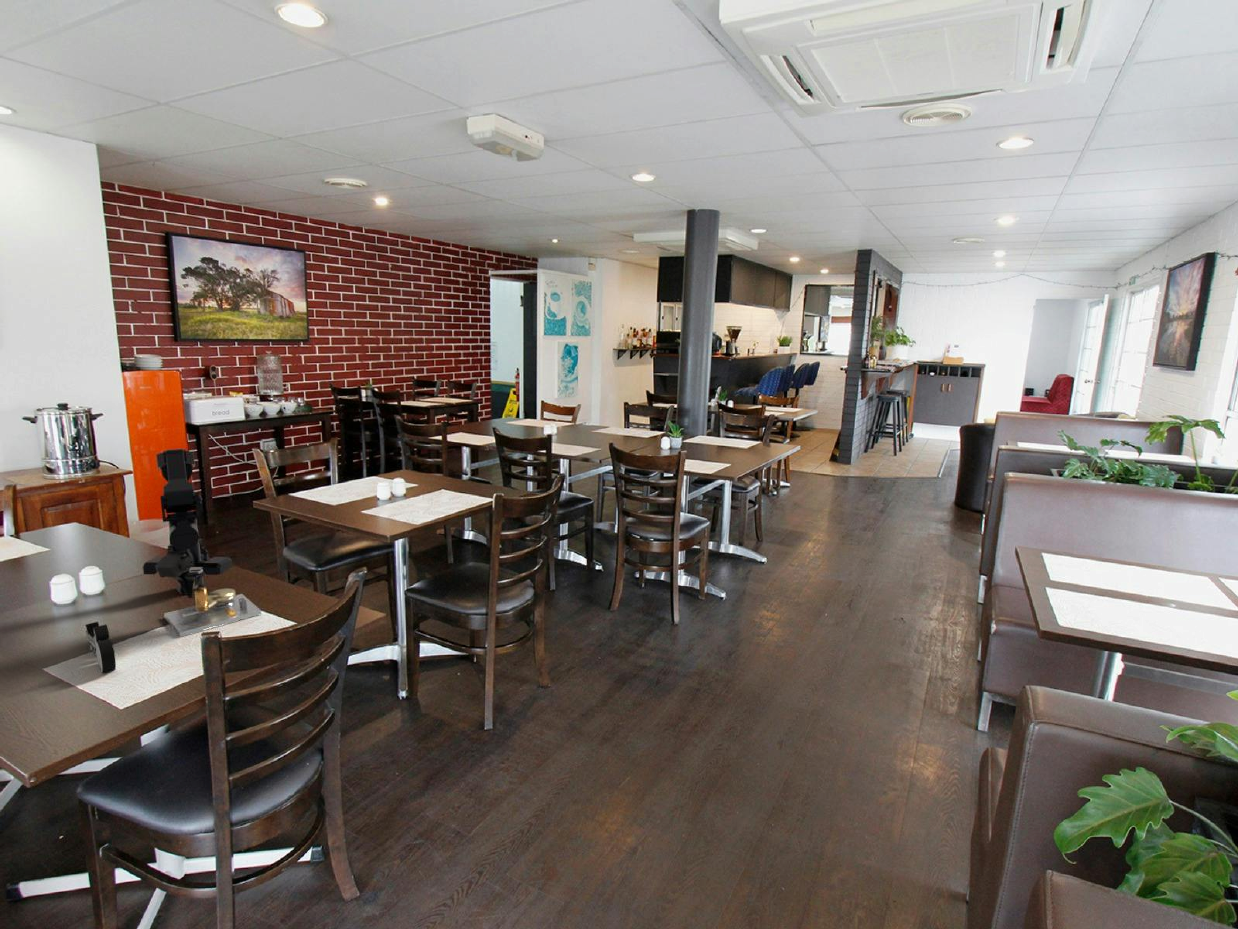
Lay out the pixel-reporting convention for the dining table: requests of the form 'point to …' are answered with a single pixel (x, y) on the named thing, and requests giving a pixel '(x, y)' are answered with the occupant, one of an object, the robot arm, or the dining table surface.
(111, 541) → the dining table surface
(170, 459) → the robot arm
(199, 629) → the base
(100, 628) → the logo
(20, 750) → the dining table surface
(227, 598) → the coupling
